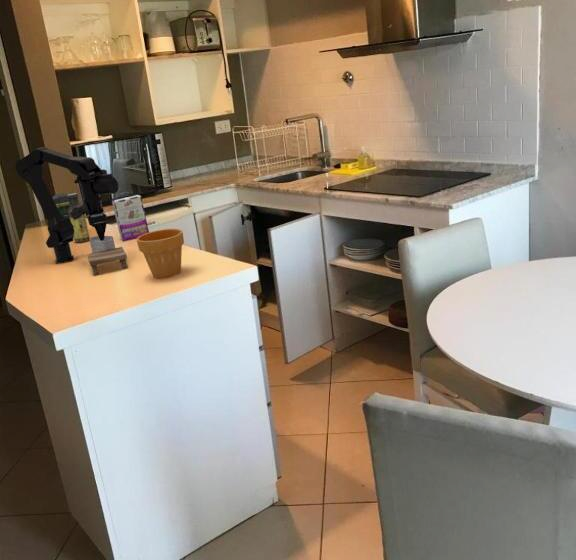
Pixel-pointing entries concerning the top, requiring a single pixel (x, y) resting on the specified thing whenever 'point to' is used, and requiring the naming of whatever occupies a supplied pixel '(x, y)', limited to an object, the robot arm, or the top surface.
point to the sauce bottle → (78, 221)
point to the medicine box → (102, 243)
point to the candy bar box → (130, 217)
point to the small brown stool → (107, 258)
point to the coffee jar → (62, 204)
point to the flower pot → (162, 251)
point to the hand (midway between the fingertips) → (100, 238)
